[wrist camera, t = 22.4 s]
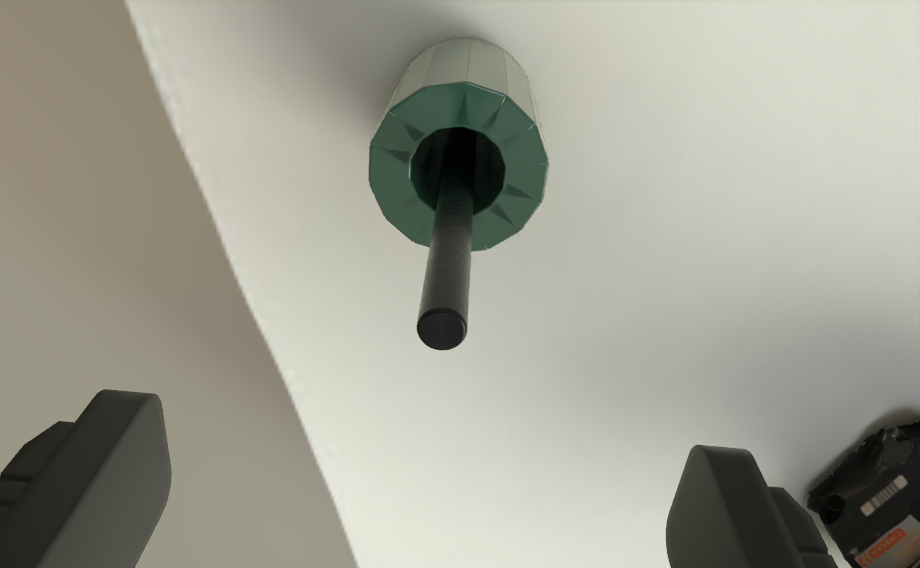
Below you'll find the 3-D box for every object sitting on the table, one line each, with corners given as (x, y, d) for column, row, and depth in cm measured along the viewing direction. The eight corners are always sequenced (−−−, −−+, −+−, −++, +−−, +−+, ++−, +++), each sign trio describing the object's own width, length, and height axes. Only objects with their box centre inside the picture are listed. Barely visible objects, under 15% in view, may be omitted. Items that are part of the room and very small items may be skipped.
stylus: (450, 127, 27) (415, 349, 14) (452, 101, 27) (418, 306, 14) (476, 130, 27) (464, 353, 14) (479, 104, 27) (469, 311, 14)
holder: (392, 169, 29) (366, 245, 23) (398, 28, 26) (371, 71, 20) (523, 183, 29) (533, 262, 23) (544, 43, 26) (560, 90, 20)
